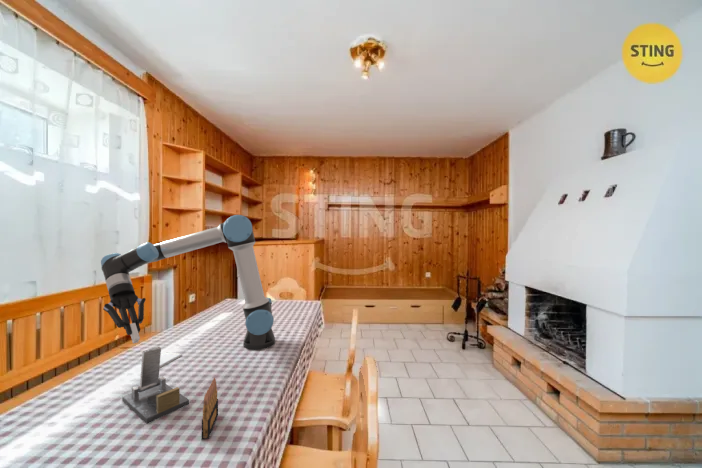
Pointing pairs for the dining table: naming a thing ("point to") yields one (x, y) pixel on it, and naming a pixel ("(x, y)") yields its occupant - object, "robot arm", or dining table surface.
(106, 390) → the dining table surface
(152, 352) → the strap
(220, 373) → the dining table surface
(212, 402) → the ammunition clip
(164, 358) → the external hard drive
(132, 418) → the dining table surface
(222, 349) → the dining table surface
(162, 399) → the latch board
